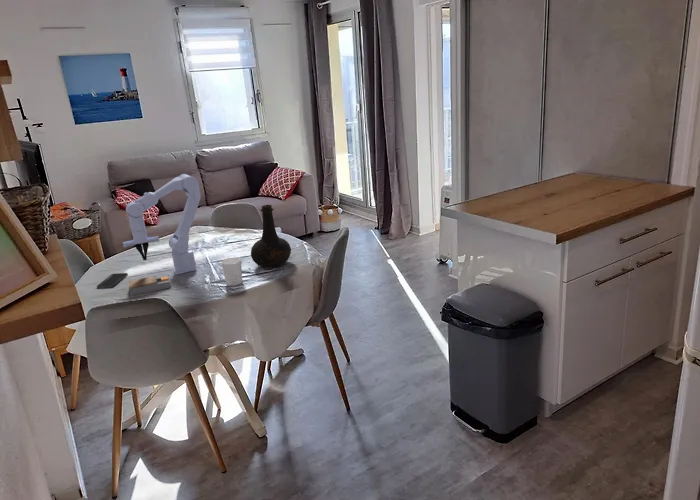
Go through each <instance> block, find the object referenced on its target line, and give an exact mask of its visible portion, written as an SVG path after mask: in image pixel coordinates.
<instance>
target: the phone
mask: <svg viewBox="0 0 700 500" xmlns="http://www.w3.org/2000/svg"><path fill="white" fill-rule="evenodd" d="M128 276H129V275H128V273H127V272H121V273H118V272H117V273H111V274H110V275H109V276H107V277H106V278H105V279H103V281H101V282H100V283H99V284H98V285H96V289H111V288H115V287H116V286H118V284H120V283H121V282H122V281H123V280H124V279H126V278H127V277H128Z"/></svg>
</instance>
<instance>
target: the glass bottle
mask: <svg viewBox="0 0 700 500" xmlns="http://www.w3.org/2000/svg"><path fill="white" fill-rule="evenodd" d="M273 211H274V208H273V207H272V205H271V204H264V205H261V209H260V212H261V213H262V234H261V238H260V239H259V240H257V241H256V242H254V244H252V247H251V249H250V257H251V258H252V261H253V262H254V263H255V264H256V265H257V266H259V267H261V268H266V269H273V268H274V267H275V268H279V267H281V265H282V266H283V265H284V264H286V263H287V262H288V260H289V258H291V253H292V247H291V245H290V243H289V242H288V241H287V240H286V239H284V238H282V237H279V235H278V233H277V230H276V225H275V223H274V222H275V220H274V215H273Z"/></svg>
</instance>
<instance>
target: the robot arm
mask: <svg viewBox="0 0 700 500" xmlns="http://www.w3.org/2000/svg"><path fill="white" fill-rule="evenodd" d="M177 190H178V191H184V193H185V195H186V197H187V200H186V203H185V206H184V208H183V212H182V214H181V217H180V220H179V222H178V226H177V228H176V231H174V232H173V234H172V236H171V238H169V240H168V245H169V247H170V248H171V249H172V250H171V256H172V261H173V262H172V263H173V267H174V268H173V271H174V272H173V273H174V275H181V274H184V273H189V272H195V271H197V263H196V259H195V253H194V251H193V250H192V249H191V250H190V249H189V248H190V246H189V241H190V238H189V236H190V235H189V234H190V230H191V228H192V225H193V222H194V219H195V217H196V214H197V210H198V208H199V203H200V202H201V198H202V195H201V189H200V183H199V181H198V180H197V178H195V177H194V176H192V175H191V176H190V175H189V174H186V173H181V174H180V175H178V176H175V177H174V178H172V180H170V181H169V182H167V183H165V184H164V185H163V186H161V187H160V188H159V189H157V190H156V191H154V192H151V191H149V192H144V193H143V195H142V196H140V197H139V198H137V199H136V198H135V199H133V201H131V202H128V203H127V204H126V206H125V212H126V213H127V214H128V219H129V226H130V230H131V234H132V239H131V240H127V241H122V245H123V248H127V247H132V246H135V248H136V250H137V252H138V253H139V254H140V256H141V258H142V261H144V262H145V261H147V260H148V259H147V254H148V248H149V243H150V244H151V243H155V242H158V243H159V242H160V237H159V235H157V236H148V233H147V232H148V231H147V228H146V224H145V220H144V217H143V214H144V213H145V211H147V210H149V209H151V208H152V207H154V206H156V205H157V204H158V203H159V200H160V199H161V198H163V197H164V196H167V195H168V194H169V193H172V192H174V191H177Z"/></svg>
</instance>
